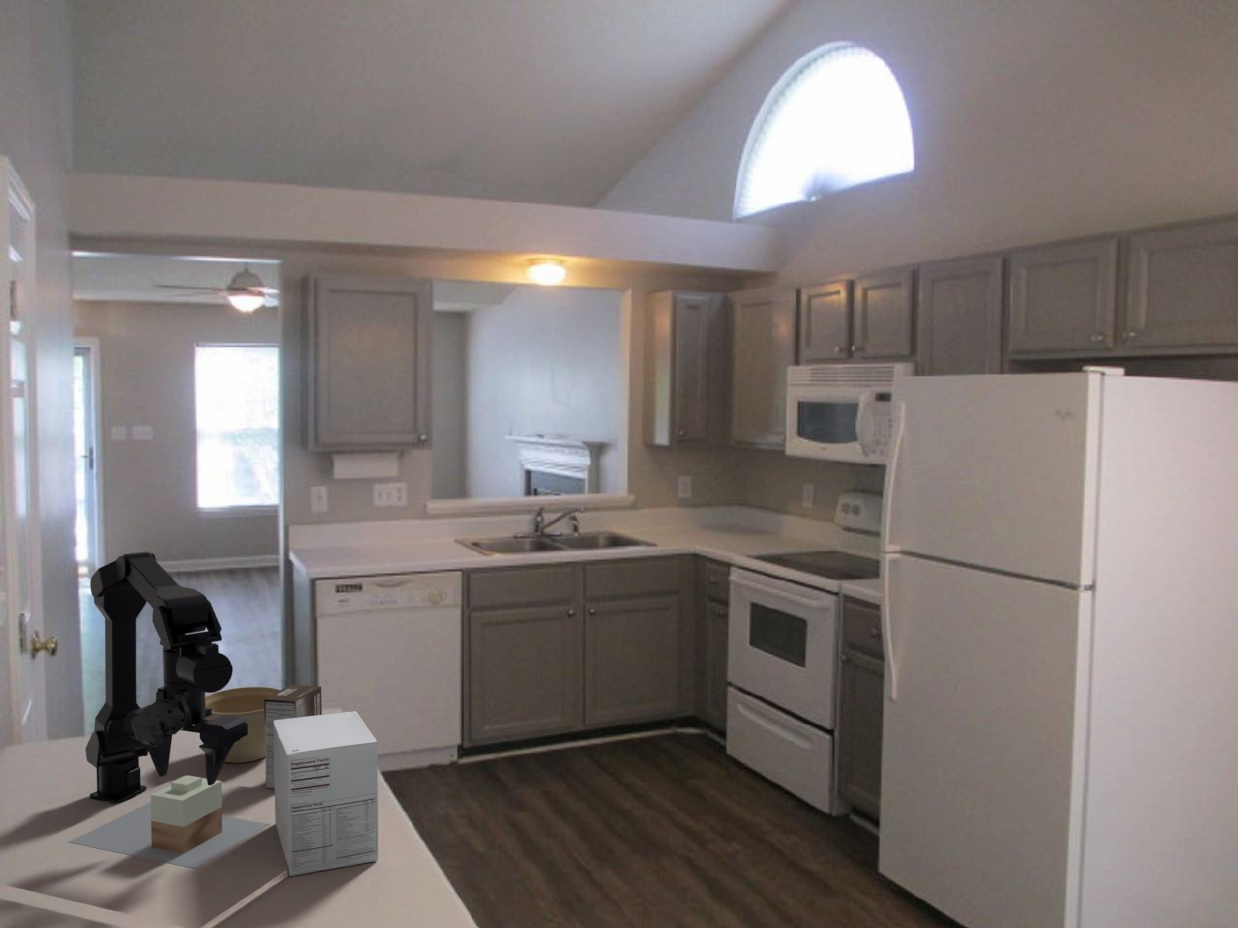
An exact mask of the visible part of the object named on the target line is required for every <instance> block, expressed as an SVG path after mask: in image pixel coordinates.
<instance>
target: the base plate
mask: <svg viewBox="0 0 1238 928" xmlns="http://www.w3.org/2000/svg"><path fill="white" fill-rule="evenodd" d="M270 825H271V823H270V824H269V823H265V822H260V821H254V820H249V819H243V818H238V817H232V816H227V815H223V814H222V833H220V834H218V835H216V836H215V837H213V838H211V839H209V840H208V841H206V842H204V843H202V844H200V845H199V846H197V847H195V848H193V849H192V850H190V851H188V852H186V853H185V854H181V853H176V852H171V851H167V850H162V849H157V848H152V840H151V801H150V802H148V803H146V804H144V805H142V806H140V807H137V808H135V809H133V810H132V811H129V812H126V813H125V814H124V815H123V814H122V815H121V816H119V817H117V818H115V819H113V820H110V821H109V822H106V823H105V824H103V825H100V826H99V827H96V828H94V829H93V830H91V831H88V832H86V833H84V834H82V835H79V836H78V837H76V838H73V839H71V840H70V841H68V843H70V844H75V845H81V846H85V847H88V848H89V847H90V848H93V849H99V850H103V851H108V852H109V851H110V852H112V853H113V852H114V853H119V854H122V855H128V856H133V857H137V858H142V859H147V860H151V861H157V862H162V863H166V864H172V865H175V866H179V867H186V868H188V869H189V868H190V869H194V870H197V869H198V868H201V867H202V866H204V865H205V864H207V863H209V862H210V861H211V860H213V859H215V858H217V857H219V856H220V855H222V854H224V853H225V852H227V851H229V850H230V849H232V848H234V847H235V846H237V845H238V844H240V843H242V842H244V841H245V840H247V839H249V838H251V837H253V836H254V835H255V834H257V833H259V832H260V831H262V830H264V829H266V828H267V827H269V826H270Z"/></svg>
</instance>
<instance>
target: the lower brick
mask: <svg viewBox="0 0 1238 928" xmlns="http://www.w3.org/2000/svg"><path fill="white" fill-rule="evenodd" d="M222 807H223V806H222ZM222 807H220V808H218V809H216V810H215V811H213V812H211V813H209V814H207V815H205V816H203V817H202V818H200V819H198V820H196V821H194V822H192V823H190V824H189V825H187V826H185V827H180V826H175V825H170V824H164V823H159V822H154V821H151V840H152V848H157V849H162V850H167V851H171V852H176V853H181V854H185V853H186V852H188V851H190V850H192V849H193V848H195V847H197V846H199V845H200V844H202V843H204V842H206V841H208V840H209V839H211V838H213V837H215V836H216V835H218V834H220V833H222V815H223V813H222V812H223V808H222Z"/></svg>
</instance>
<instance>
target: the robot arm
mask: <svg viewBox="0 0 1238 928" xmlns="http://www.w3.org/2000/svg"><path fill="white" fill-rule="evenodd" d="M89 589H90V592H91V595H92V597H93V603H94V606H95V607H96V608H97V609H98V611H99V612H100V613H101V615H102V616H103V617H104V642H105V643H104V647H105V648H104V653H105V655H104V657H105V658H104V659H105V660H104V662H105V672H104V673H105V674H104V675H105V676H104V677H105V679H104V680H105V681H104V682H105V702H104V704H103V705H102V707H101V708H100V710H99V712H98V713H97V715H96V716H95V718H94V726H93V727H94V728H93V730H94V731H93V732H92V733H91V735H90V737H89V740H88V742H87V744H86V746H85V750H84V751H85V757H86V762H87V763H89V764H90V765H92V766H93V767H94V768H96V790H95V791H94V792H91V793H89V798H92V799H96V800H103V801H106V802H111V803H120V802H123V801H124V800H127V799H129V798H131V797H133V796H135V795H137V794H139V793H141V792H144V791H146V790H147V789H148V788H147V785H142V783H141V779H142V778H141V767H140V762H139V761H140V758H141V757H147V756H149V755H150V759H151V761H152V763H153V765H154V768H155V770H156V771H155V772H156V773H157V775H158V777H159V778H164V777H165V776H166V775H167V773H168V768H169V765H170V756H171V751H172V750H171V748H172V741H173V735H176V734H177V733H178V732H179V731H184V732H189V733H195V734H199V740H200V741H201V742H202V744H200V745H198V748H199V749H200V750H201V751H202V752H203V753H204V755H205V756H204V757H205V758H204V759H205V771H206V772H205V773H206V774H205V775H206V777H205V778H206V779H207V783H208V785H210V786H211V785H213V784H214V783H215V782H216V780H218V778H219V777H218V776H219V775H220V773H221V770H222V768H223V765H224V764H225V759H226V757H227V755H228V753H229V752H230V750H231V748H232V746H233V745H234V743H235V742H237V741H239V740H241V738H242V737H244V736H247V735H248V724H247V721H246V720H245V719H244V718H243V717H237V716H230V715H223V716H221V717H218V718H216V719H213V720H211V721H207V720H205V718H206V717H208V716H210V715H212V708H206V701H205V696H206V693H207V694H212V693H215V692H218V691H222V689H224V688H225V687H226V686H227V685H228V683H230V680H231V679H232V676H233V671H234V667H233V665H232V662H231V660H230V659H229V657H227V656H226V655H225V654H224V653H220V652H219V644H218V643H216V642H221V641H222V640H223V638H222V633H221V632H222V630H223V628H222V626H221V624H220V622H219V619H218V617H217V614H216V612H215V609H214V607H213V606H212V603H211V601H210V600H209V599H208V598H207V596H206V594H203V593H202V592H201V591H198V590H197V589H195V588H190V587H186V586H185V587H184V586H182V585H180V584H179V583H178V582H177V581H176V580H175V579H174V578H173V577H172V576H171V575H170V574H169V573H168V572H167V570H165V569H164V568H163V566H162V565H161V564H159V562H157V558H156V555H155V553H154V552H149V551H140V552H138V551H137V552H128V553H124V554H122V555H120V556H118V557H117V558H116V559H115V560H114V561H112V562H110V563H107V564H105V565H103V566H101V567H99V568H97V570H96V571H95V572H94V573H93V574H92V575H91V578H90V583H89ZM147 603H148V605H149V606H150V607H151V608H152V610H153V611H152V615H151V616H152V624H153V626H154V629H155V631H156V633H157V635H158V637H159V639H160V640H159V645H160V646H162V659H163V660H162V666H163V667H162V668H163V670H162V671H163V686H161V687H158V688H157V689H156V690H157V691H156V693H155V701H154V702H153V703H151V704H149V705H145V706H142V707H140V706H139V704H138V702H137V701H138V700H137V620H138V619H137V618H138V617H139V615H140V614H141V613H142V611H143V609H144V608H145V606H146V605H147ZM206 630H207V631H206Z"/></svg>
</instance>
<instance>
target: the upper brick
mask: <svg viewBox="0 0 1238 928" xmlns="http://www.w3.org/2000/svg"><path fill="white" fill-rule="evenodd" d="M222 782H223V781H222V780H218V779H216V782H215V783H214V784H213V785H211V786H210V785H208V783H207V777H205V778H204V777H199V776H193V775H184V776H181V777H178V778H177V779H175V780H173V781H172V782H171V781H170V783H171V785H167V786H166V787H164V788H162V789H160V790H157V791H155V792H154V793H152V794H151V793H150V802H151V821H154V822H159V823H164V824H170V825H175V826H180V827H185V826H187V825H189V824H190V823H192V822H194V821H196V820H198V819H200V818H202V817H203V816H205V815H207V814H209V813H211V812H213V811H215V810H216V809H218V808H220V807H223V795H222V794H223V793H222V792H223V790H222V788H223V787H222V784H223V783H222Z"/></svg>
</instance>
